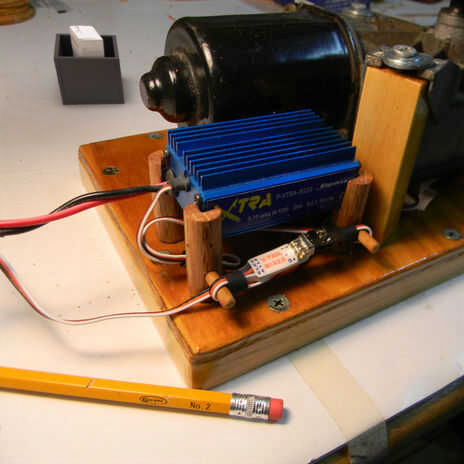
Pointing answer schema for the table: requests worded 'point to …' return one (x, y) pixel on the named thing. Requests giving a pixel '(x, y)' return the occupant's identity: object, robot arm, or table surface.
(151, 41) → the table surface
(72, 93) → the dark grey open bin
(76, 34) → the ink box
